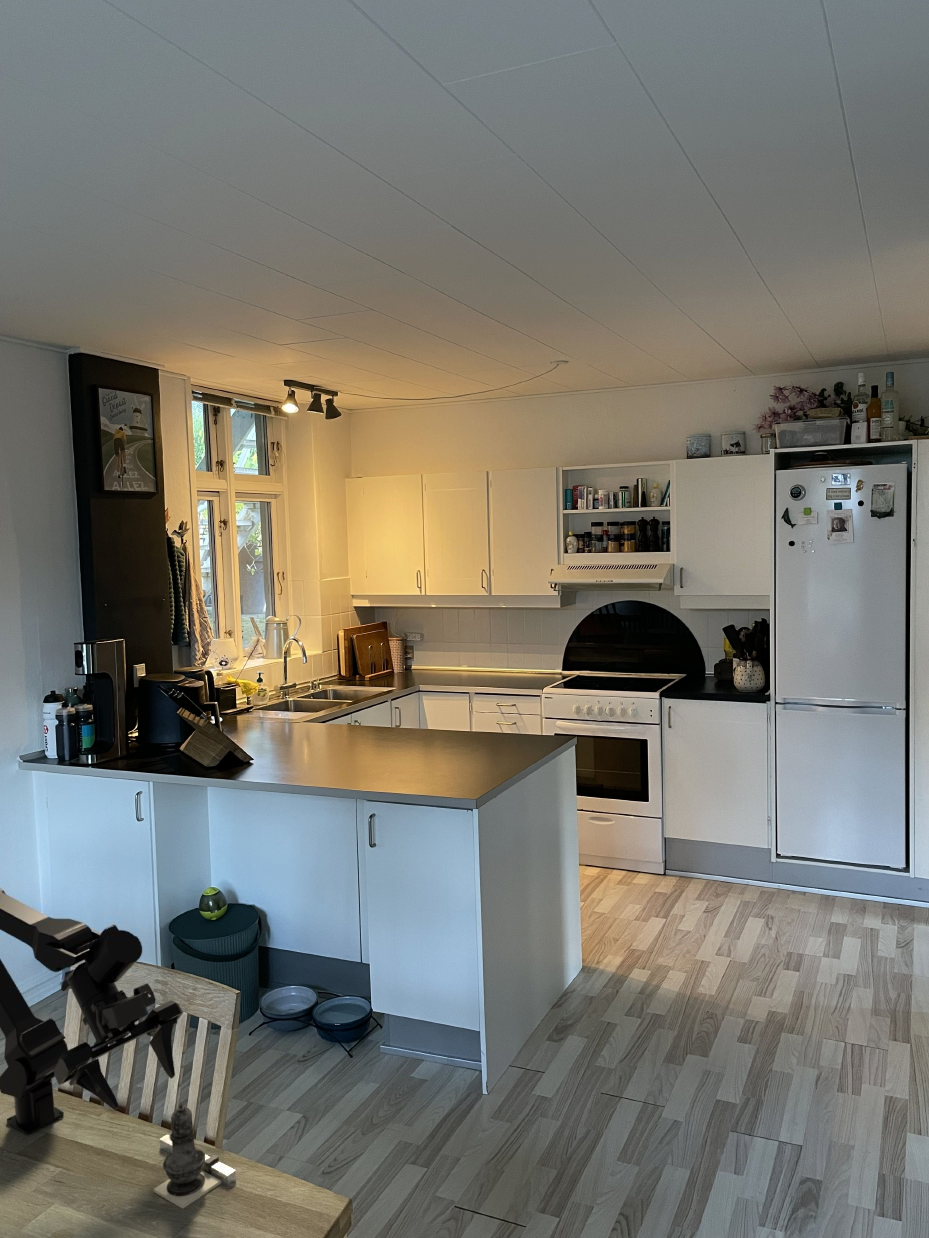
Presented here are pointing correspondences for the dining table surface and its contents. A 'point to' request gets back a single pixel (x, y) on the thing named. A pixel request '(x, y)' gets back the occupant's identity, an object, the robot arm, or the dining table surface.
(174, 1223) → the dining table surface
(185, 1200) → the groove pad
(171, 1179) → the dark grey tiered figure
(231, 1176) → the white rectangular bar
